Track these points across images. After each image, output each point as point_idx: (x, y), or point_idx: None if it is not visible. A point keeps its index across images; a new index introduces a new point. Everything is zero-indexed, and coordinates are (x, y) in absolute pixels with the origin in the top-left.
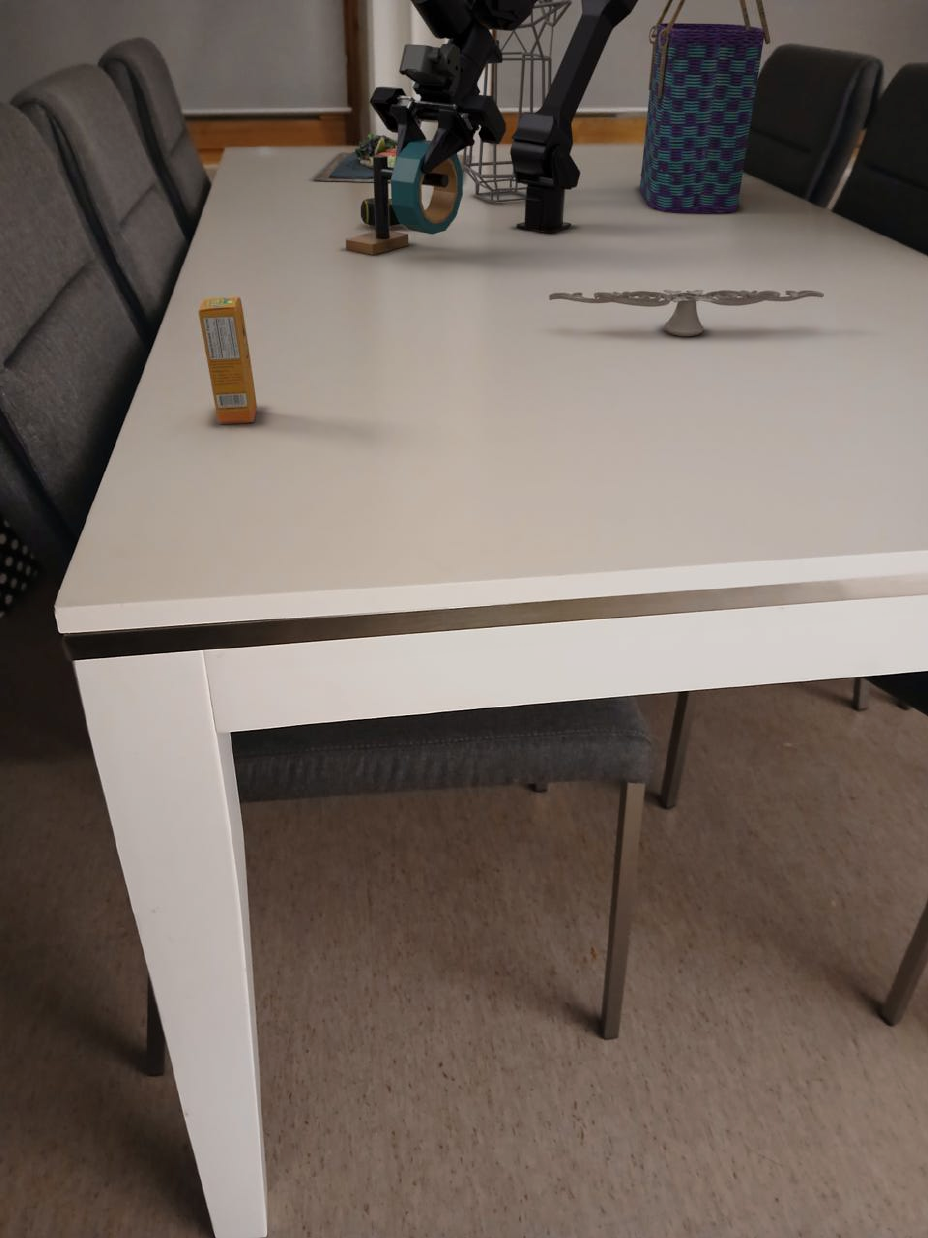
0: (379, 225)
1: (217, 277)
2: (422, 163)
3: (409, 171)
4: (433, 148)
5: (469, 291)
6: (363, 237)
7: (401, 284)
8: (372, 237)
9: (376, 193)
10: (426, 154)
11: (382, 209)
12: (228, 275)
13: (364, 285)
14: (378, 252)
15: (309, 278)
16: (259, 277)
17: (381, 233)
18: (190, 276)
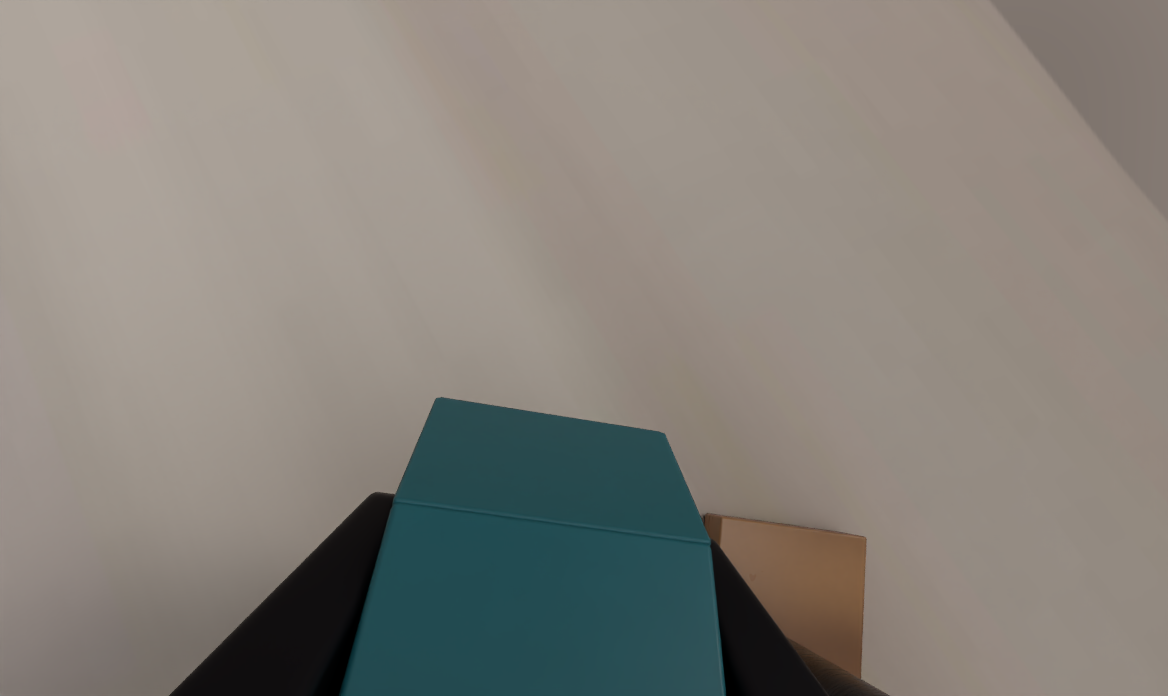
0: None
1: (931, 29)
2: (385, 524)
3: (502, 444)
4: (215, 666)
5: (91, 200)
6: (822, 603)
7: (385, 181)
8: (791, 628)
9: (882, 694)
10: (338, 596)
11: None
12: (923, 58)
13: (498, 119)
14: None
15: (704, 122)
16: (837, 73)
17: None
18: (995, 11)
